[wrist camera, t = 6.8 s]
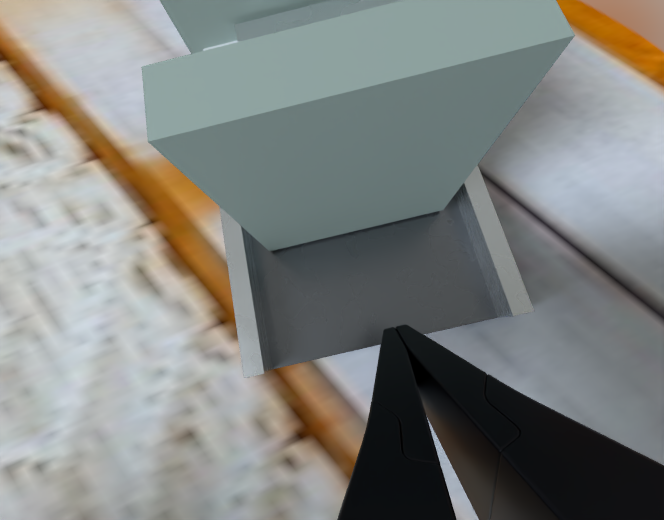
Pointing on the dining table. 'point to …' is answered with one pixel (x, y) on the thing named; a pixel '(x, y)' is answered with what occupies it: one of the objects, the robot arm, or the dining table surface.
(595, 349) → the dining table surface
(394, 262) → the vise base
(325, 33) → the bar
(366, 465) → the robot arm
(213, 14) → the fixed jaw
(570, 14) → the dining table surface
